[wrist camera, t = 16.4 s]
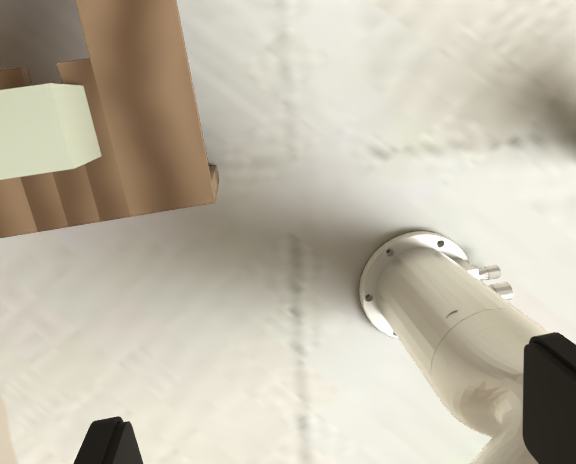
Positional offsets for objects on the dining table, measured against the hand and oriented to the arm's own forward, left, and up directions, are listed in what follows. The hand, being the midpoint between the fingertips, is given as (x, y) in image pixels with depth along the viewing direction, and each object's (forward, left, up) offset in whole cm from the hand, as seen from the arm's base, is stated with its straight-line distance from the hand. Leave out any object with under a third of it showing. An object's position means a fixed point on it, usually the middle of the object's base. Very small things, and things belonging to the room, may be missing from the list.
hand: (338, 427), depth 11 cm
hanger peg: (+14, -7, -33) cm, 37 cm away
